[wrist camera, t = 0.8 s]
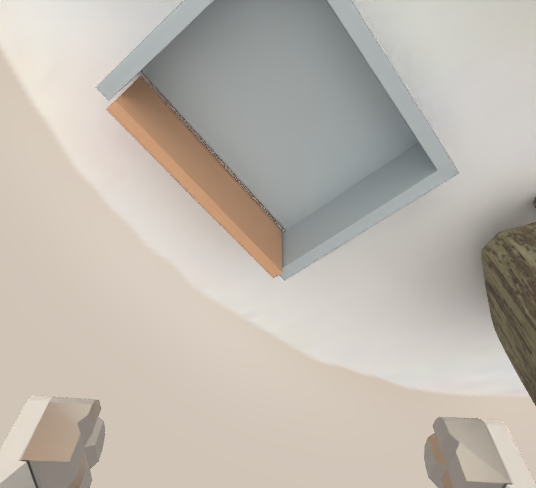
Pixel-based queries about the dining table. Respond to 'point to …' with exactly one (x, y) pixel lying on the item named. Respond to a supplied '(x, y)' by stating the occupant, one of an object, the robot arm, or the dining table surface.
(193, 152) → the panel
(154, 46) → the blue-grey open tray
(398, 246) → the dining table surface
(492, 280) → the tabletop clock
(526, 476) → the robot arm
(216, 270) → the dining table surface
